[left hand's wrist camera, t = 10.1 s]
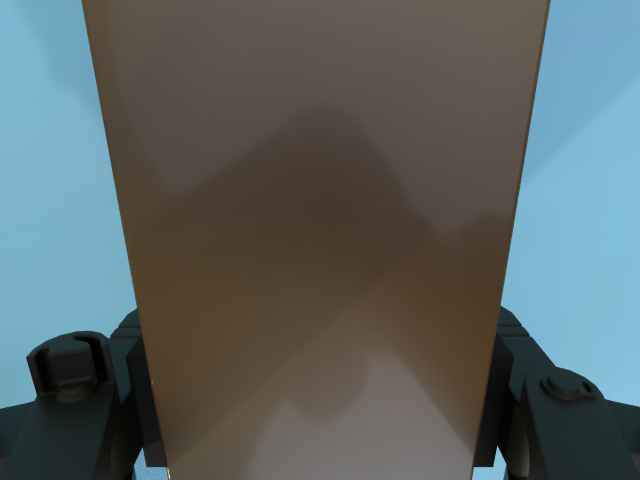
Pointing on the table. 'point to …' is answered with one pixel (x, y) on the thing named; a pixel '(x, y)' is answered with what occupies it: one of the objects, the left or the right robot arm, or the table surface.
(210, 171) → the bar
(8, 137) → the table surface
